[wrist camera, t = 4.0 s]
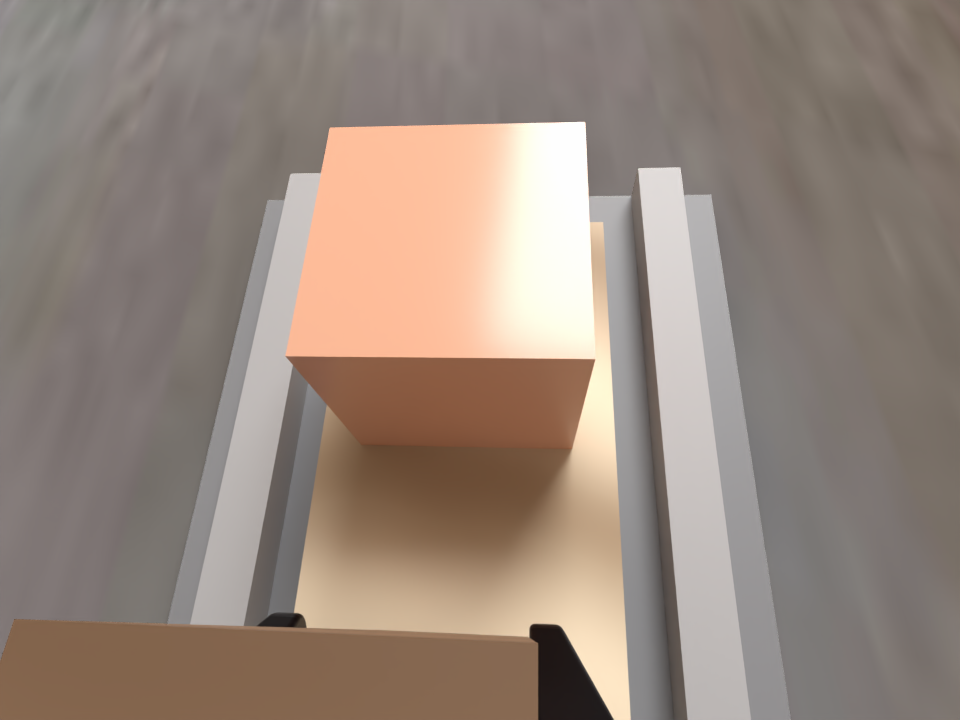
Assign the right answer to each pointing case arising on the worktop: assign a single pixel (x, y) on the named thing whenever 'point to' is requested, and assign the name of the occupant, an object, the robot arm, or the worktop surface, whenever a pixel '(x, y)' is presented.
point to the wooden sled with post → (386, 593)
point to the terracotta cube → (450, 285)
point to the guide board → (639, 456)
